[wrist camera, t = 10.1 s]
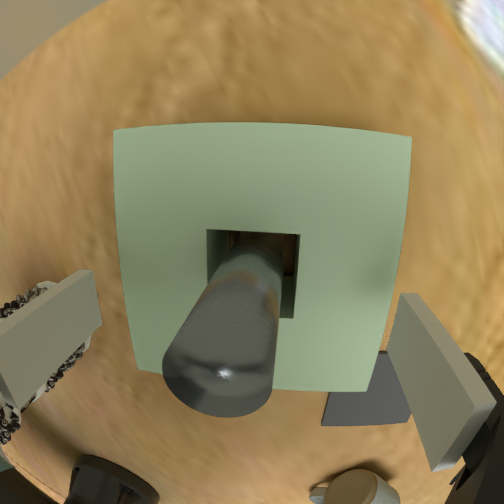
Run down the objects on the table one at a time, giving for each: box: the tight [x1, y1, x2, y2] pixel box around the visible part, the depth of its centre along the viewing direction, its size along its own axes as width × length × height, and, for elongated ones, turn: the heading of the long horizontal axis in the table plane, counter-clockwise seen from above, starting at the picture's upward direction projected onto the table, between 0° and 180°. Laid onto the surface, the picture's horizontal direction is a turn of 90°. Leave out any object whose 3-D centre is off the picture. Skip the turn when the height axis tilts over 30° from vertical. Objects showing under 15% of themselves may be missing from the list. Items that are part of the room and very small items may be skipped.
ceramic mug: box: [309, 469, 400, 504], centre depth 26 cm, size 11×8×8 cm
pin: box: [162, 231, 285, 417], centre depth 15 cm, size 3×3×14 cm
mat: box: [321, 351, 411, 426], centre depth 24 cm, size 9×9×1 cm
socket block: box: [113, 122, 412, 392], centre depth 19 cm, size 15×15×6 cm
